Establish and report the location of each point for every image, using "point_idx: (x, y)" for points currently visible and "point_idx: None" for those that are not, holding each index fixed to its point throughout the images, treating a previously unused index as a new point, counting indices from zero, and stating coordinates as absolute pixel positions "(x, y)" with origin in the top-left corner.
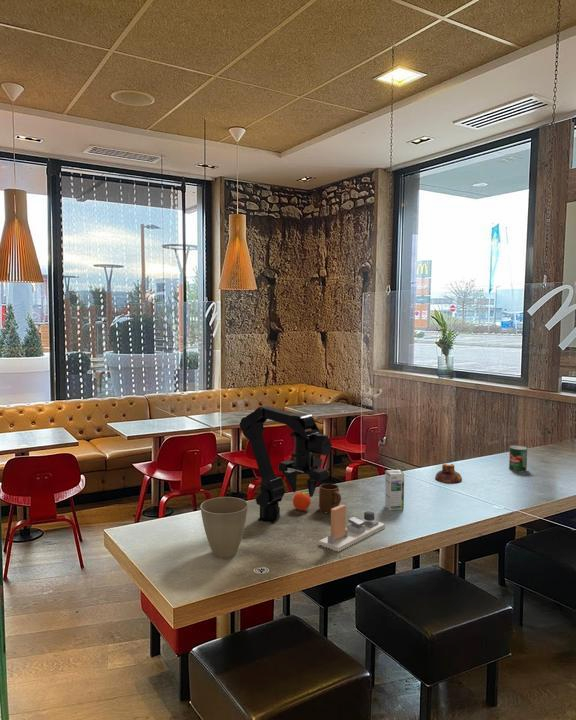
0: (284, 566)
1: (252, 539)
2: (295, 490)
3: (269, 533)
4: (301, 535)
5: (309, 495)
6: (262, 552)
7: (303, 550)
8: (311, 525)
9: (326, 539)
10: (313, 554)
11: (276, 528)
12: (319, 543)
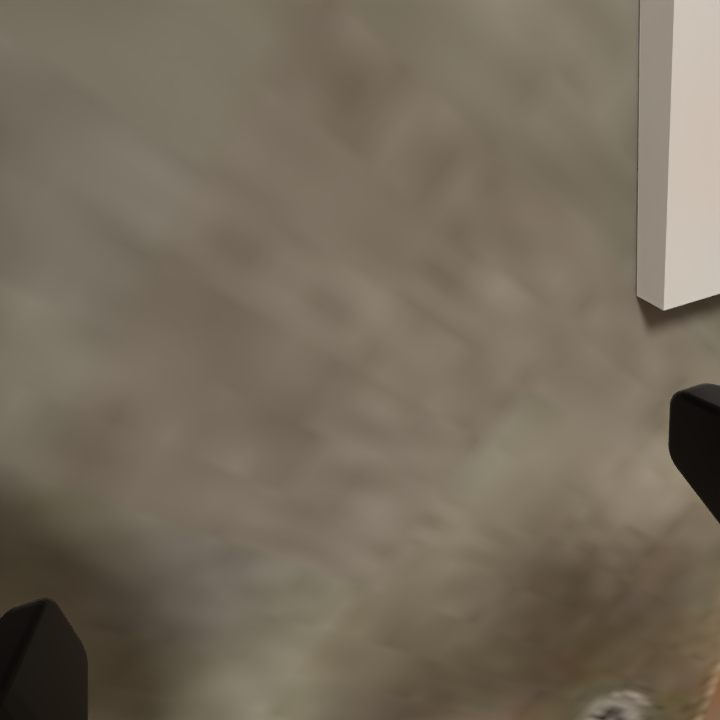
0: (669, 623)
1: (211, 677)
2: (51, 636)
3: (164, 541)
4: (376, 316)
5: (703, 499)
6: (445, 672)
7: (610, 447)
8: (189, 30)
9: (698, 233)
10: None
11: (73, 444)
12: (651, 299)
